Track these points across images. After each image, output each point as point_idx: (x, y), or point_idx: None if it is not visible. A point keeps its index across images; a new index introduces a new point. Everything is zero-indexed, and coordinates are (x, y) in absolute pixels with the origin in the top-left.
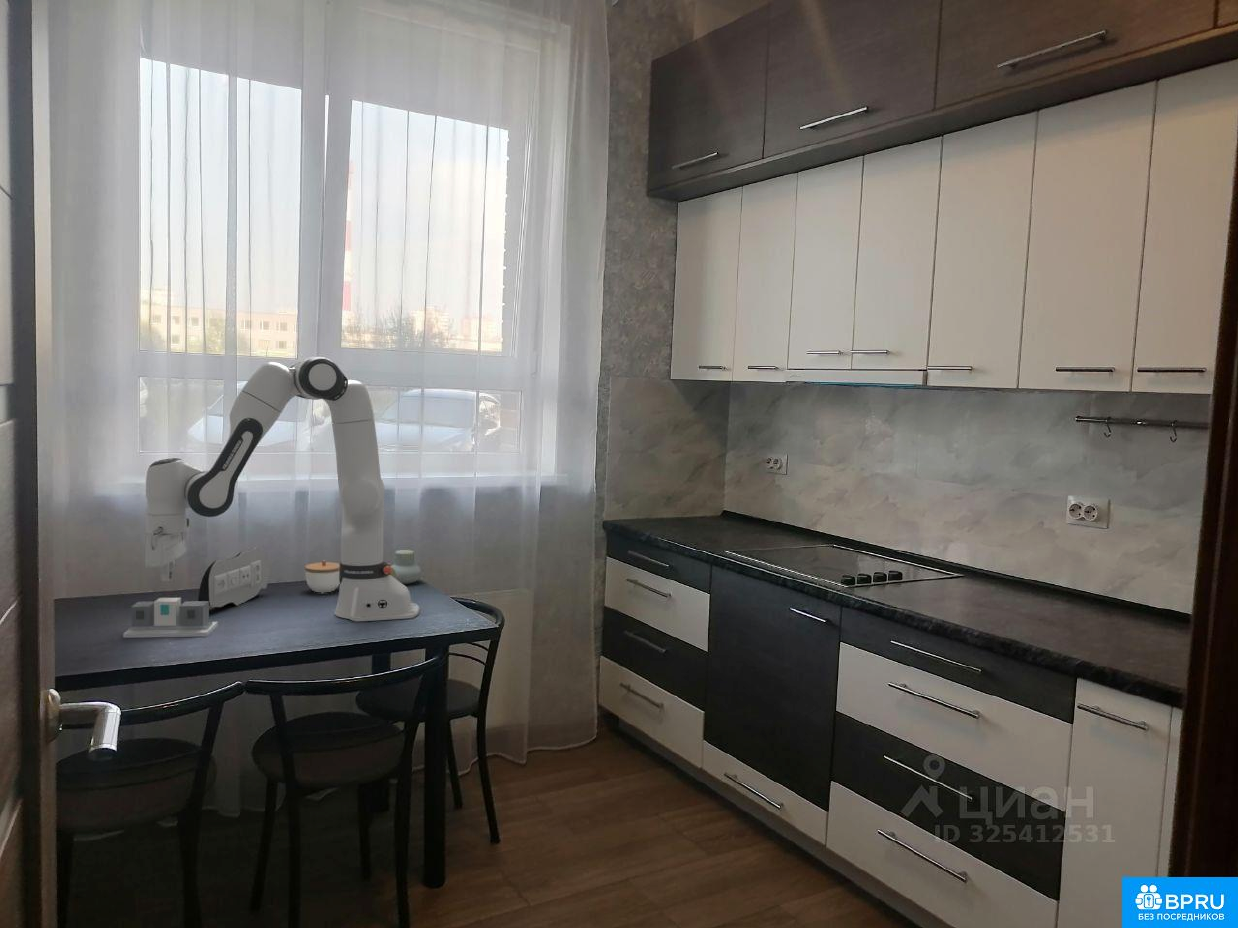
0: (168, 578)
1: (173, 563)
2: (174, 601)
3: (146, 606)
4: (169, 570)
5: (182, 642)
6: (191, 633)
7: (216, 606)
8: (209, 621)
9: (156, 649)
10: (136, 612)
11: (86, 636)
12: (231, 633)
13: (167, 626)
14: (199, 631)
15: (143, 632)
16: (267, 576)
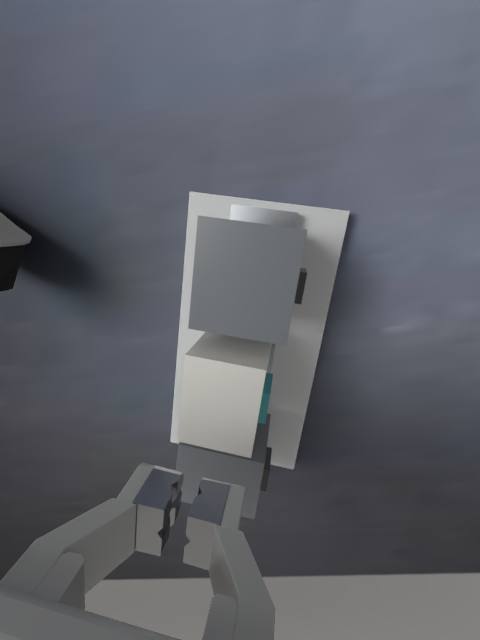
0: (243, 496)
1: (72, 562)
2: (261, 376)
3: (262, 471)
4: (126, 527)
5: (407, 289)
6: (336, 269)
7: (11, 222)
8: (236, 215)
9: (475, 362)
10: (266, 485)
11: (257, 537)
12: (323, 117)
13: (272, 358)
14: (326, 242)
15: (292, 419)
16: None
